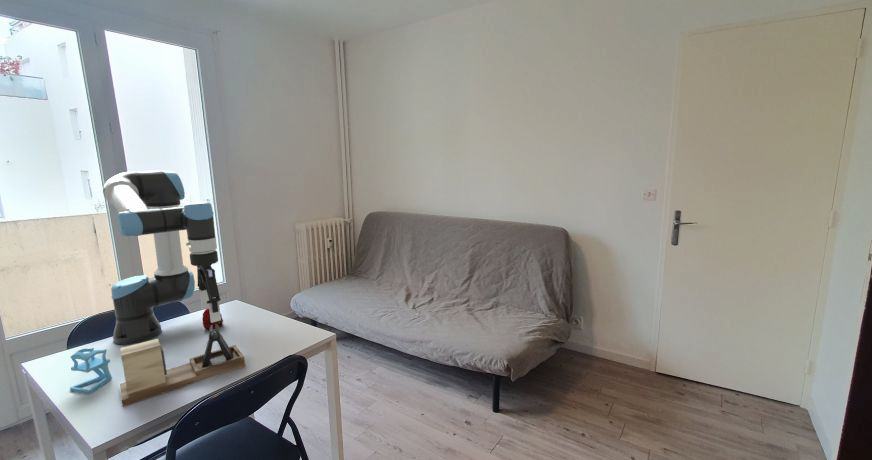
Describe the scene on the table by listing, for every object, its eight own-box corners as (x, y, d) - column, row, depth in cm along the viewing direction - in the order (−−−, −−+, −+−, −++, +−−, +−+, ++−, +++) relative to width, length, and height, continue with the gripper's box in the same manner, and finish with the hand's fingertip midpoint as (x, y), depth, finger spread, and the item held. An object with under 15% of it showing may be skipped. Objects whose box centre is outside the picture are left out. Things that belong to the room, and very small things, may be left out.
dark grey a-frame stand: (201, 369, 122) (197, 334, 120) (202, 361, 127) (198, 327, 125) (233, 362, 126) (229, 328, 124) (233, 354, 132) (229, 321, 129)
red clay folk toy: (216, 331, 155) (212, 296, 152) (199, 331, 155) (194, 296, 152) (226, 323, 162) (222, 290, 160) (210, 324, 162) (205, 290, 160)
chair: (118, 378, 121) (112, 343, 119) (89, 393, 113) (82, 356, 111) (99, 376, 123) (93, 341, 121) (69, 390, 115) (62, 353, 113)
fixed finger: (126, 385, 114) (120, 348, 112) (165, 373, 120) (160, 337, 118) (127, 394, 109) (121, 355, 107) (168, 381, 116) (162, 344, 114)
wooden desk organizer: (120, 389, 115) (119, 379, 115) (236, 354, 136) (235, 345, 135) (122, 406, 107) (120, 395, 106) (245, 366, 128) (244, 356, 127)
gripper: (182, 246, 127) (190, 306, 131) (197, 261, 109) (206, 330, 113) (208, 243, 132) (215, 301, 136) (226, 256, 114) (233, 323, 117)
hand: (211, 314), depth 124 cm, fingers open, 13 cm apart
